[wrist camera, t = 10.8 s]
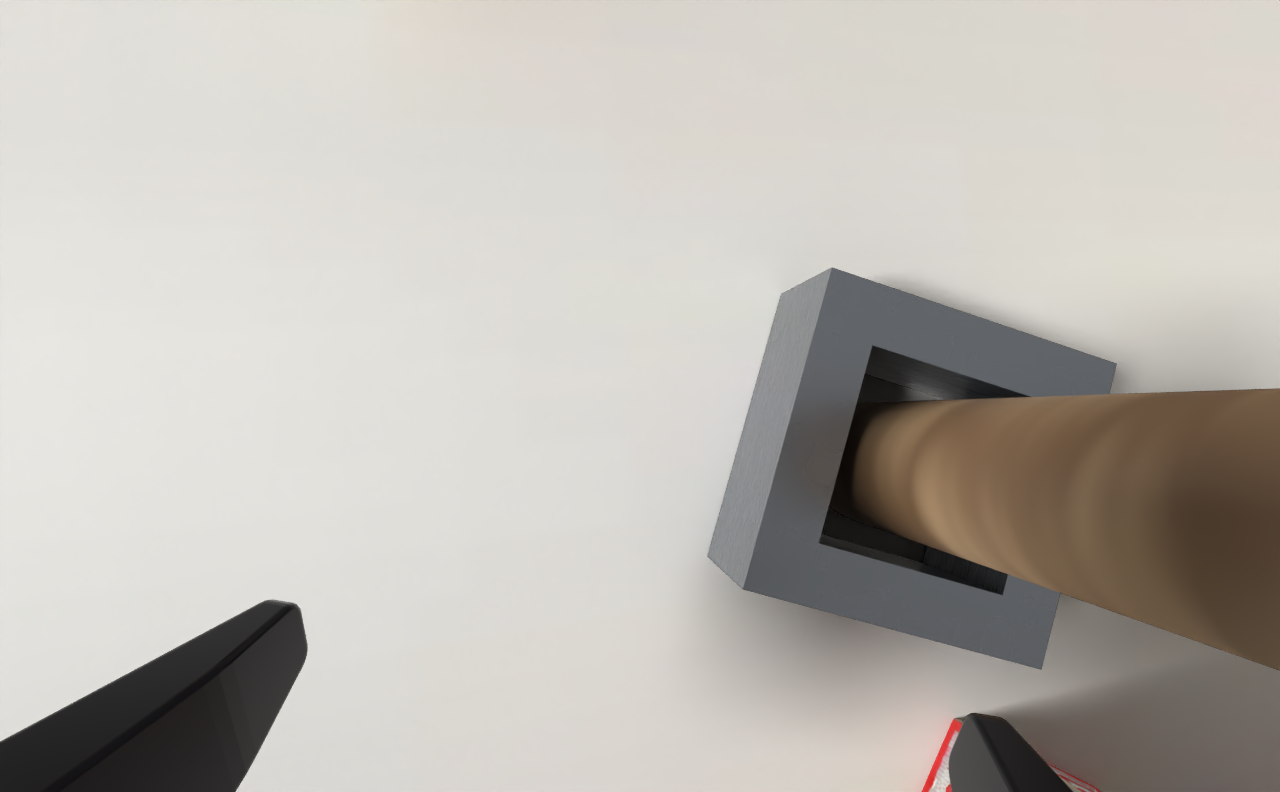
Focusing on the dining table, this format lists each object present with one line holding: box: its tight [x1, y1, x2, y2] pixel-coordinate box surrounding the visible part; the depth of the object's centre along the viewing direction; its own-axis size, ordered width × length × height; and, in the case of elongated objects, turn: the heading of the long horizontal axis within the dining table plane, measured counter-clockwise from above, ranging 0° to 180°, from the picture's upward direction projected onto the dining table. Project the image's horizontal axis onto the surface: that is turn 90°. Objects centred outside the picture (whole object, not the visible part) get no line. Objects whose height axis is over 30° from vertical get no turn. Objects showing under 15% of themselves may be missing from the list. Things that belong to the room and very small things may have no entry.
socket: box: [707, 268, 1116, 669], centre depth 20 cm, size 9×9×4 cm
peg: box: [829, 389, 1280, 670], centre depth 16 cm, size 4×4×13 cm
